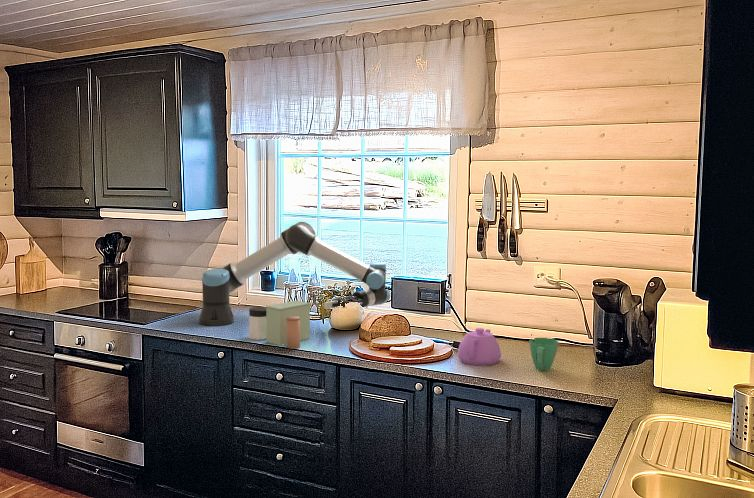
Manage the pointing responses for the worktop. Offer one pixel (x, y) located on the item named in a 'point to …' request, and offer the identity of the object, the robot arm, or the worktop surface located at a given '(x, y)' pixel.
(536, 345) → the mug
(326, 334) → the worktop surface
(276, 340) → the green tin
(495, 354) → the teapot
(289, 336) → the rust tin
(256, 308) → the jar
